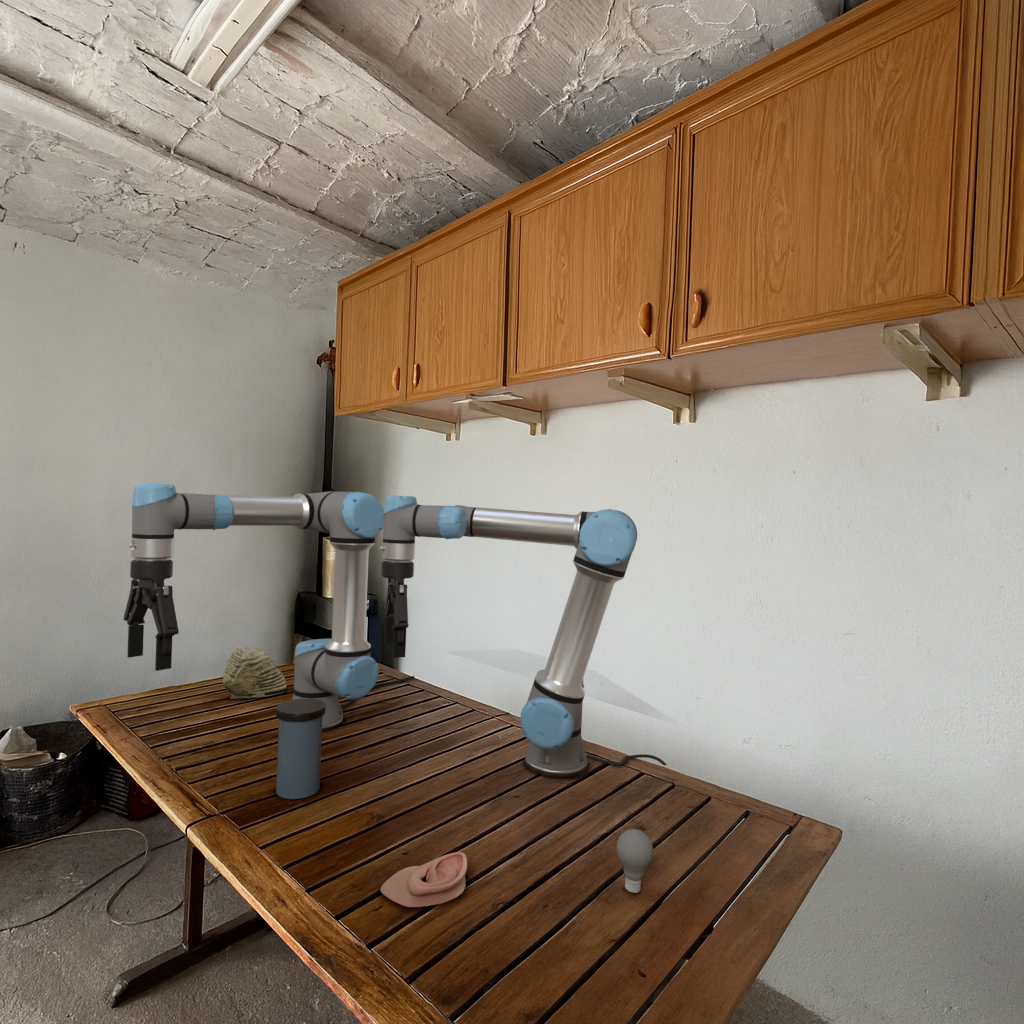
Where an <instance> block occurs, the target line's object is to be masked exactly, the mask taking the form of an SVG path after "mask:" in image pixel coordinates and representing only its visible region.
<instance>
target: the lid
mask: <svg viewBox="0 0 1024 1024" xmlns="http://www.w3.org/2000/svg"><path fill="white" fill-rule="evenodd" d="M292 699H293V698H292ZM292 699H289V700H284V701H283V702H280V703H278V704H277V705H276V707H275V717H276V718H277V719H278V720H279V719H281V720H284V721H292V722H300V721H309V720H314V719H317V718H320V717H322V716H323V715H324V714H325V710H326V704H325V703H324V702H323V701H321V700H317V699H293V700H292Z"/></svg>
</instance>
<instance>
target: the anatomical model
mask: <svg viewBox="0 0 1024 1024" xmlns="http://www.w3.org/2000/svg"><path fill="white" fill-rule="evenodd" d="M467 870H468V858H467V856H466V853H464V852H462V851H457V852H456V851H455V852H450V853H448V854H444V855H441V856H439V857H436V858H434V859H432V860H430V861H428V862H426V863H424V864H421V865H411V866H408V867H405V868H402V869H400V870H399V871H396V872H395V873H394V874H392V875H391V876H390V877H389V878H388V879H387V880H386V881H385V882H383V884H382V885H381V886H380V893H381V894H382V895H383V896H384V897H386V898H388V899H389V900H391V901H392V902H394V903H396V904H398V905H400V906H403V907H407V908H422V907H430V906H435V905H440V904H443V903H446V902H449V901H452V900H454V899H456V898H458V897H459V896H460V895H461V894H463V892H464V891H465V889H466V882H467V880H466V874H467Z"/></svg>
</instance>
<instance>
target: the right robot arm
mask: <svg viewBox="0 0 1024 1024" xmlns="http://www.w3.org/2000/svg"><path fill="white" fill-rule="evenodd" d="M383 505H384V507H383V510H384V513H383V516H384V520H383V528H382V545H381V546H380V547H379V550H380V551H382V559H383V560H382V562H381V573H380V574H381V577H382V578H384V579H387V588H386V589H387V590H386V598H385V599H386V600H385V607H384V612H385V628H384V629H385V630H384V632H385V633H384V644H385V645H392V658H393V659H394V658H395V659H396V658H406V647H407V628H408V627H409V615H408V613H409V612H408V585H407V584H405V579H412V578H414V574H415V563H414V561H413V560H415V555H416V553H415V551H416V537H418V538H421V537H423V538H433V539H434V538H435V539H436V538H437V539H445V540H453V539H455V540H456V539H457V540H458V539H462V538H463V537H467V538H468V537H469V538H481V539H492V540H502V541H503V540H504V541H513V542H524V543H534V544H535V543H536V544H545V545H555V546H566V547H574V548H575V549H576V551H575V554H574V557H573V560H572V563H573V565H574V566H575V568H576V572H575V576H574V579H573V581H572V584H571V588H570V591H569V595H568V598H567V601H566V604H565V607H564V610H563V613H562V617H561V619H560V621H559V625H558V627H557V631H556V634H555V637H554V640H553V644H552V647H551V649H550V653H549V656H548V659H547V662H546V665H545V667H544V669H541V670H538V671H537V672H536V674H535V677H534V680H533V683H532V685H531V688H530V692H529V695H528V697H527V701H526V703H525V705H524V706H523V707H522V708H521V712H520V719H519V725H520V729H521V731H522V733H523V735H524V737H525V738H526V740H527V741H528V742H529V743H528V746H527V748H526V751H525V755H524V764H525V767H526V768H527V769H529V770H530V771H532V772H533V773H535V774H538V775H541V776H545V777H550V778H572V777H577V776H579V775H582V774H583V773H585V772H586V771H587V770H588V760H592V761H596V762H599V763H603V764H607V765H613V766H623V765H625V764H626V763H627V760H629V759H638V758H639V759H641V758H647V759H652V760H655V761H657V762H658V763H660V764H661V765H663V766H667V763H666V762H665V761H664V760H663V759H661V758H660V757H658V756H655V755H653V754H645V753H643V754H632V755H626V756H624V757H623V759H622V761H612V760H607V759H603V758H600V757H595V756H592V755H587V751H586V748H585V745H584V741H583V740H584V739H583V737H582V726H583V721H582V720H583V701H584V698H585V695H586V692H585V690H584V688H585V684H584V677H585V674H586V670H587V668H588V664H589V661H590V659H591V656H592V652H593V649H594V647H595V643H596V640H597V638H598V634H599V632H600V628H601V625H602V622H603V620H604V616H605V613H606V610H607V607H608V604H609V602H610V598H611V595H612V592H613V589H614V586H615V584H616V583H618V582H619V581H621V580H624V578H625V575H626V572H627V570H628V566H629V563H630V560H631V557H632V554H633V552H634V550H635V548H636V545H637V540H638V529H637V526H636V524H635V522H634V520H633V519H632V518H631V517H630V516H629V515H628V514H626V513H625V512H623V511H620V510H617V509H612V508H607V509H600V510H597V511H582V510H581V511H579V513H577V514H567V513H556V512H555V513H554V512H541V511H529V510H518V509H517V510H516V509H503V508H490V507H479V506H478V507H476V506H466V505H459V504H457V505H432V504H431V505H430V504H428V505H426V504H425V505H424V504H418V502H417V497H416V496H414V495H412V496H411V495H387V496H386V497H385V499H384V504H383Z"/></svg>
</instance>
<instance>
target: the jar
mask: <svg viewBox="0 0 1024 1024" xmlns="http://www.w3.org/2000/svg"><path fill="white" fill-rule="evenodd" d="M322 718H323V716H322V717H320V718H317V719H314V720H309V721H300V722H292V721H284V720H281V719H279V718H278V721H277V722H278V724H277V725H278V726H277V750H276V775H275V776H276V778H275V779H276V780H275V794H276V795H277V796H278V797H280V798H283V799H287V800H299V799H304V798H308V797H311V796H313V795H315V794H317V793H318V792H319V791H320V788H321V767H322V766H321V765H322V744H323V743H322V741H323V740H322V739H323V731H322Z"/></svg>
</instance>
